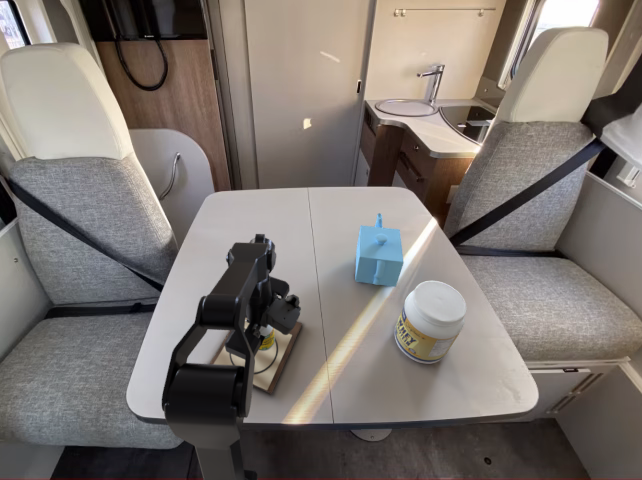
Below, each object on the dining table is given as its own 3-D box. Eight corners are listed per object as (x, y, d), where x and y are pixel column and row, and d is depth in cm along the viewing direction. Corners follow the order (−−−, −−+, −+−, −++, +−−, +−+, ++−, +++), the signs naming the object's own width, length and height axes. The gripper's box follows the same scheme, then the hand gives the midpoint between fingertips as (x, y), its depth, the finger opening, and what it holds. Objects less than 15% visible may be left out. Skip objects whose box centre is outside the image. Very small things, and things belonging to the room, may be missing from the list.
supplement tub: (384, 324, 79) (398, 282, 68) (427, 314, 81) (447, 271, 70) (409, 371, 70) (430, 331, 59) (457, 359, 72) (485, 318, 61)
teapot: (395, 298, 85) (406, 264, 76) (354, 293, 86) (360, 259, 78) (390, 243, 101) (399, 210, 92) (356, 239, 103) (361, 207, 94)
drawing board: (271, 394, 67) (271, 392, 66) (209, 366, 72) (208, 363, 71) (301, 325, 79) (301, 322, 78) (247, 305, 84) (246, 302, 83)
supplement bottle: (264, 326, 75) (261, 302, 69) (279, 341, 72) (278, 317, 66) (247, 341, 72) (242, 317, 66) (262, 356, 69) (258, 334, 63)
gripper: (273, 350, 51) (277, 389, 61) (311, 271, 64) (310, 314, 74) (216, 327, 55) (229, 367, 65) (264, 256, 68) (268, 299, 78)
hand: (262, 335), depth 70 cm, fingers closed on supplement bottle, 5 cm apart
